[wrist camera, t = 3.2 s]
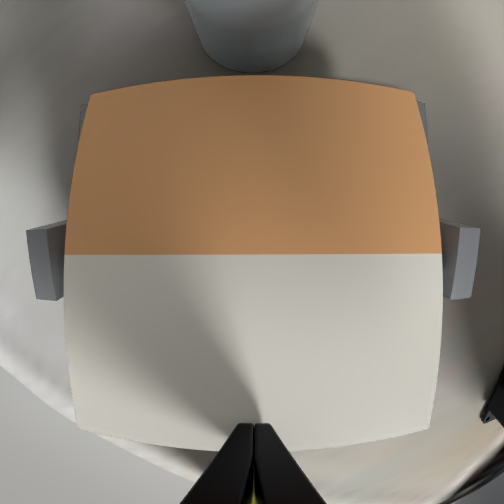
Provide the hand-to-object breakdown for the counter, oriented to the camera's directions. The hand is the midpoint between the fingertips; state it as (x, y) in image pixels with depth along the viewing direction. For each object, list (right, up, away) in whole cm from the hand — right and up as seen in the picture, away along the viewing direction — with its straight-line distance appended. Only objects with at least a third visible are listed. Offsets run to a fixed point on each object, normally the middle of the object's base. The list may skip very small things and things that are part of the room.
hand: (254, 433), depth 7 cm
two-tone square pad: (0, +5, +2) cm, 5 cm away
